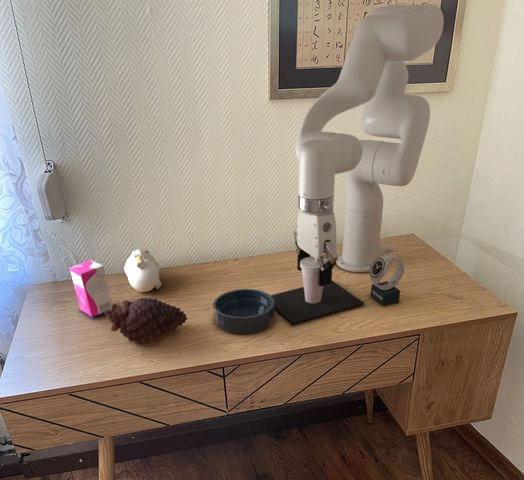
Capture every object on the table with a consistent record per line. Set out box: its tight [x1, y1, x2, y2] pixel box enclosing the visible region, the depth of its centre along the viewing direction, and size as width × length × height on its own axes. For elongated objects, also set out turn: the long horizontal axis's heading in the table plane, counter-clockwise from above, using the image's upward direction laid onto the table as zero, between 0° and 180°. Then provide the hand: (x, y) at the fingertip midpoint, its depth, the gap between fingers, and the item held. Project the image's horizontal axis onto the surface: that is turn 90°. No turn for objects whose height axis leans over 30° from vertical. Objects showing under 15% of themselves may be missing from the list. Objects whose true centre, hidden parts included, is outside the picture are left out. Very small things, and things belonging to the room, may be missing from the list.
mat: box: [270, 280, 364, 327], centre depth 125 cm, size 19×14×1 cm
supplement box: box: [69, 259, 113, 319], centre depth 122 cm, size 6×6×12 cm
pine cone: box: [104, 296, 188, 345], centre depth 112 cm, size 18×10×10 cm
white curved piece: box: [124, 248, 162, 293], centre depth 133 cm, size 10×8×15 cm
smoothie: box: [300, 256, 327, 304], centre depth 121 cm, size 6×6×14 cm
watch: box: [368, 253, 405, 307], centre depth 122 cm, size 6×8×11 cm
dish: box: [212, 288, 276, 335], centre depth 118 cm, size 14×14×4 cm
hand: (314, 276), depth 121 cm, fingers open, 8 cm apart
